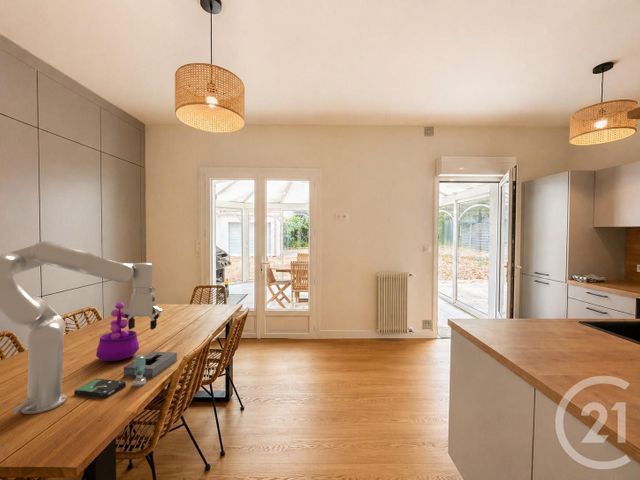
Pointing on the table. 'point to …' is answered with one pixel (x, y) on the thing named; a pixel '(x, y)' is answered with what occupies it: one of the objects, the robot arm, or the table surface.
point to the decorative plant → (117, 339)
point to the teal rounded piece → (139, 371)
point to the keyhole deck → (152, 370)
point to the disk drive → (100, 388)
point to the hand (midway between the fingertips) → (142, 328)
